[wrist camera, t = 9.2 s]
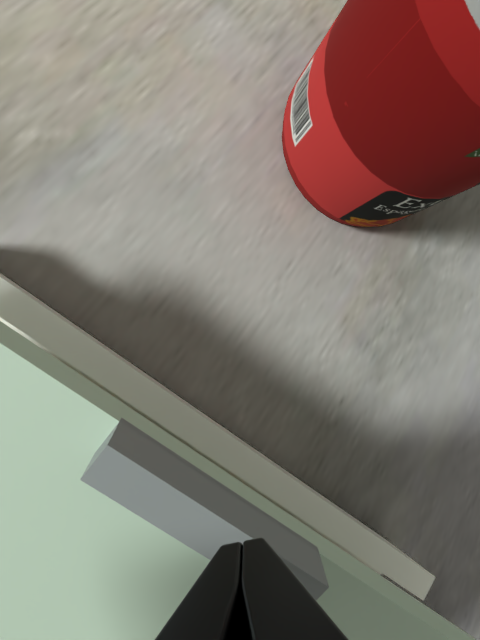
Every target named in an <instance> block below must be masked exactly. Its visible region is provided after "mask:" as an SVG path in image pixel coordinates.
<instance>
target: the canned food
mask: <svg viewBox="0 0 480 640" xmlns="http://www.w3.org/2000/svg"><path fill="white" fill-rule="evenodd" d="M282 143H283V152H284V157H285V160H286V163H287V167H288V170H289V172H290V174H291V176H292V178H293V180H294V182H295V184H296V186H297V187H298V189H299V190H300V192H301V193H302V194H303V196H304V197H305V198H306V199H307V200H308V201H309V202H310V203H311V204H312V205H313V206H314V207H315V208H316V209H317V210H319V211H320V212H321V213H323V214H324V215H326V216H327V217H329V218H331V219H333V220H335V221H338V222H340V223H343V224H347V225H352V226H363V227H372V226H383V225H387V224H391V223H394V222H396V221H398V220H401V219H403V218H405V217H407V216H410V215H412V214H414V213H416V212H418V211H421V210H423V209H425V208H427V207H430V206H432V205H434V204H436V203H438V202H441V201H443V200H445V199H447V198H450V197H452V196H454V195H456V194H458V193H461V192H463V191H465V190H467V189H470V188H472V187H474V186H476V185H478V184H480V0H348V1H347V3H346V4H345V6H344V7H343V9H342V10H341V12H340V14H339V15H338V17H337V18H336V20H335V22H334V23H333V25H332V26H331V28H330V29H329V31H328V33H327V34H326V36H325V37H324V39H323V41H322V42H321V44H320V45H319V47H318V49H317V50H316V52H315V53H314V55H313V56H312V58H311V60H310V61H309V63H308V64H307V66H306V68H305V69H304V71H303V72H302V74H301V76H300V77H299V79H298V80H297V82H296V84H295V86H294V87H293V89H292V91H291V93H290V95H289V98H288V102H287V105H286V109H285V113H284V120H283V131H282Z"/></svg>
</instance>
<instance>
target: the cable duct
mask: <svg viewBox="0 0 480 640" xmlns="http://www.w3.org/2000/svg"><path fill="white" fill-rule="evenodd" d="M0 321H1V322H3V323H4V324H6V325H7V326H8V327H10V328H11V329H13V330H14V331H16V332H17V333H19V334H20V335H22V336H23V337H25V338H26V339H28V340H29V341H31V342H32V343H34V344H35V345H37V346H38V347H40V348H41V349H43V350H44V351H46V352H47V353H49V354H50V355H52V356H53V357H55V358H56V359H58V360H59V361H61V362H62V363H64V364H65V365H67V366H68V367H70V368H71V369H73V370H74V371H76V372H77V373H79V374H80V375H82V376H83V377H85V378H86V379H88V380H89V381H91V382H92V383H94V384H95V385H97V386H98V387H100V388H101V389H103V390H104V391H106V392H107V393H109V394H110V395H112V396H113V397H115V398H116V399H118V400H119V401H121V402H122V403H124V404H125V405H127V406H128V407H130V408H131V409H133V410H134V411H136V412H137V413H139V414H140V415H142V416H143V417H145V418H146V419H148V420H149V421H151V422H152V423H154V424H155V425H156V426H158V427H159V428H161V429H162V430H164V431H165V432H167V433H168V434H170V435H171V436H173V437H174V438H176V439H177V440H179V441H180V442H182V443H183V444H185V445H186V446H188V447H189V448H191V449H192V450H194V451H195V452H197V453H198V454H200V455H201V456H203V457H204V458H206V459H207V460H209V461H210V462H212V463H213V464H215V465H216V466H218V467H219V468H221V469H222V470H224V471H225V472H227V473H228V474H230V475H231V476H233V477H234V478H236V479H237V480H239V481H240V482H242V483H243V484H245V485H246V486H248V487H249V488H251V489H252V490H254V491H255V492H257V493H258V494H260V495H261V496H263V497H264V498H266V499H267V500H269V501H270V502H272V503H273V504H275V505H276V506H278V507H279V508H281V509H282V510H284V511H285V512H287V513H288V514H290V515H291V516H293V517H294V518H296V519H297V520H299V521H300V522H302V523H303V524H304V525H306V526H307V527H309V528H310V529H312V530H313V531H315V532H316V533H318V534H319V535H321V536H322V537H324V538H325V539H327V540H328V541H330V542H331V543H333V544H334V545H336V546H337V547H339V548H340V549H342V550H343V551H345V552H346V553H348V554H349V555H351V556H352V557H354V558H355V559H357V560H358V561H360V562H361V563H363V564H364V565H366V566H367V567H369V568H370V569H372V570H373V571H375V572H376V573H378V574H379V575H382V573H383V574H384V575H386V576H387V577H389V578H390V579H391V580H393V581H394V582H396V583H397V584H399V585H400V586H402V587H403V588H405V589H406V590H408V591H409V592H411V593H412V594H414V595H415V596H417V597H418V598H420V599H421V600H423V601H424V599H425V597H426V595H427V593H428V591H429V589H430V587H431V586H432V584H433V582H434V580H435V578H436V577H435V576H434V575H432V574H431V573H430V572H428V571H427V570H426V569H424V568H423V567H422V566H420V565H419V564H418V563H416V562H415V561H414V560H413V559H411V558H410V557H409V556H407V555H406V554H405V553H403V552H402V551H401V550H399V549H398V548H397V547H395V546H394V545H393V544H391V543H390V542H389V541H387V540H386V539H384V538H383V537H382V536H380V535H379V534H377V533H376V532H374V531H373V530H371V529H370V528H369V527H367V526H366V525H364V524H363V523H361V522H360V521H358V520H357V519H356V518H354V517H353V516H351V515H350V514H348V513H347V512H345V511H344V510H343V509H341V508H340V507H338V506H337V505H335V504H334V503H332V502H331V501H330V500H328V499H327V498H325V497H324V496H322V495H321V494H319V493H318V492H317V491H315V490H314V489H312V488H311V487H309V486H308V485H306V484H305V483H304V482H302V481H301V480H299V479H298V478H296V477H295V476H293V475H292V474H290V473H289V472H288V471H286V470H285V469H283V468H282V467H280V466H279V465H277V464H276V463H275V462H273V461H272V460H270V459H269V458H267V457H266V456H264V455H263V454H262V453H260V452H259V451H257V450H256V449H254V448H253V447H251V446H250V445H249V444H247V443H246V442H244V441H243V440H241V439H240V438H238V437H237V436H236V435H234V434H233V433H231V432H230V431H228V430H227V429H225V428H224V427H223V426H221V425H220V424H218V423H217V422H215V421H214V420H212V419H211V418H210V417H208V416H207V415H205V414H204V413H202V412H201V411H199V410H198V409H197V408H195V407H194V406H192V405H191V404H189V403H188V402H186V401H185V400H184V399H182V398H181V397H179V396H178V395H176V394H175V393H173V392H172V391H171V390H169V389H168V388H166V387H165V386H163V385H162V384H160V383H159V382H158V381H156V380H155V379H153V378H152V377H150V376H149V375H147V374H146V373H145V372H143V371H142V370H140V369H139V368H137V367H136V366H134V365H133V364H131V363H130V362H129V361H127V360H126V359H124V358H123V357H121V356H120V355H118V354H117V353H116V352H114V351H113V350H111V349H110V348H108V347H107V346H105V345H104V344H103V343H101V342H100V341H98V340H97V339H95V338H94V337H92V336H91V335H90V334H88V333H87V332H85V331H84V330H82V329H81V328H79V327H78V326H77V325H75V324H74V323H72V322H71V321H69V320H68V319H66V318H65V317H64V316H62V315H61V314H59V313H58V312H56V311H55V310H53V309H52V308H51V307H49V306H48V305H46V304H45V303H43V302H42V301H40V300H39V299H38V298H36V297H35V296H33V295H32V294H30V293H29V292H27V291H26V290H25V289H23V288H22V287H20V286H19V285H17V284H16V283H14V282H13V281H12V280H10V279H9V278H7V277H6V276H4V275H3V274H1V273H0Z"/></svg>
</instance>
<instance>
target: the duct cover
mask: <svg viewBox="0 0 480 640" xmlns="http://www.w3.org/2000/svg"><path fill="white" fill-rule="evenodd" d="M256 538H264V539H265V540H266V541H267V543H268V544H269V545H270V546H271V547H272V549H273V550H274V551H275V552H276V553H277V555H278V556H279V557H280V558H281V559H282V561H283V562H284V563H285V564H286V565H287V567H288V568H289V569H290V570H291V571H292V573H293V574H294V575H295V576H296V577H297V579H298V580H299V581H300V582H301V583H302V585H303V586H304V587H305V588H306V589H307V591H308V592H309V593H310V594H311V595H312V597H313V598H314V599H315V600H316V601H317V603H318V604H319V605H320V606H321V607H322V609H323V610H324V611H325V612H326V613H327V615H328V616H329V617H330V618H331V619H332V621H333V622H334V623H335V624H336V625H337V627H338V628H339V629H340V630H341V631H342V632H343V634H344V635H345V636H346V637H347V638H348V640H476V639H475V638H473V637H472V636H470V635H469V634H467V633H466V632H464V631H463V630H461V629H460V628H458V627H457V626H455V625H454V624H452V623H451V622H450V621H448V620H447V619H445V618H444V617H442V616H441V615H439V614H438V613H436V612H435V611H433V610H432V609H430V608H429V607H427V606H426V605H424V604H423V603H421V602H420V601H418V600H417V599H415V598H414V597H412V596H411V595H409V594H408V593H406V592H405V591H403V590H402V589H400V588H399V587H397V586H396V585H394V584H393V583H391V582H390V581H388V580H387V579H385V578H384V577H382V576H381V575H379V574H378V573H376V572H375V571H373V570H372V569H370V568H369V567H367V566H366V565H364V564H363V563H361V562H360V561H358V560H357V559H355V558H354V557H352V556H351V555H349V554H348V553H346V552H345V551H343V550H342V549H340V548H339V547H337V546H336V545H334V544H333V543H331V542H330V541H328V540H327V539H325V538H324V537H322V536H321V535H319V534H318V533H316V532H315V531H313V530H312V529H310V528H309V527H307V526H306V525H304V524H303V523H302V522H300V521H299V520H297V519H296V518H294V517H293V516H291V515H290V514H288V513H287V512H285V511H284V510H282V509H281V508H279V507H278V506H276V505H275V504H273V503H272V502H270V501H269V500H267V499H266V498H264V497H263V496H261V495H260V494H258V493H257V492H255V491H254V490H252V489H251V488H249V487H248V486H246V485H245V484H243V483H242V482H240V481H239V480H237V479H236V478H234V477H233V476H231V475H230V474H228V473H227V472H225V471H224V470H222V469H221V468H219V467H218V466H216V465H215V464H213V463H212V462H210V461H209V460H207V459H206V458H204V457H203V456H201V455H200V454H198V453H197V452H195V451H194V450H192V449H191V448H189V447H188V446H186V445H185V444H183V443H182V442H180V441H179V440H177V439H176V438H174V437H173V436H171V435H170V434H168V433H167V432H165V431H164V430H162V429H161V428H159V427H158V426H156V425H155V424H154V423H152V422H151V421H149V420H148V419H146V418H145V417H143V416H142V415H140V414H139V413H137V412H136V411H134V410H133V409H131V408H130V407H128V406H127V405H125V404H124V403H122V402H121V401H119V400H118V399H116V398H115V397H113V396H112V395H110V394H109V393H107V392H106V391H104V390H103V389H101V388H100V387H98V386H97V385H95V384H94V383H92V382H91V381H89V380H88V379H86V378H85V377H83V376H82V375H80V374H79V373H77V372H76V371H74V370H73V369H71V368H70V367H68V366H67V365H65V364H64V363H62V362H61V361H59V360H58V359H56V358H55V357H53V356H52V355H50V354H49V353H47V352H46V351H44V350H43V349H41V348H40V347H38V346H37V345H35V344H34V343H32V342H31V341H29V340H28V339H26V338H25V337H23V336H22V335H20V334H19V333H17V332H16V331H14V330H13V329H11V328H10V327H8V326H7V325H6V324H4V323H3V322H1V321H0V640H155V638H156V637H157V635H158V634H159V633H160V631H161V630H162V628H163V627H164V626H165V624H166V623H167V621H168V620H169V618H170V617H171V616H172V614H173V613H174V611H175V610H176V609H177V607H178V606H179V604H180V603H181V601H182V600H183V599H184V597H185V596H186V594H187V593H188V592H189V590H190V589H191V587H192V586H193V584H194V583H195V582H196V580H197V579H198V577H199V576H200V575H201V573H202V572H203V570H204V569H205V568H206V566H207V565H208V563H209V562H210V560H211V559H212V558H213V556H214V555H215V553H216V552H217V551H218V549H219V548H220V547H221V546H222V545H225V544H230V543H235V542H240V543H242V545H243V542H244V541H246V540H250V539H256Z"/></svg>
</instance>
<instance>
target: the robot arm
mask: <svg viewBox="0 0 480 640" xmlns="http://www.w3.org/2000/svg"><path fill="white" fill-rule="evenodd" d="M155 640H348V638H347V637H346V636H345V635H344V634H343V632H342V631H341V630H340V629H339V628H338V627H337V625H336V624H335V623H334V622H333V621H332V619H331V618H330V617H329V616H328V615H327V613H326V612H325V611H324V610H323V609H322V607H321V606H320V605H319V604H318V603H317V601H316V600H315V599H314V598H313V597H312V595H311V594H310V593H309V592H308V591H307V589H306V588H305V587H304V586H303V585H302V583H301V582H300V581H299V580H298V579H297V577H296V576H295V575H294V574H293V573H292V571H291V570H290V569H289V568H288V567H287V565H286V564H285V563H284V562H283V561H282V559H281V558H280V557H279V556H278V555H277V553H276V552H275V551H274V550H273V549H272V547H271V546H270V545H269V544H268V543H267V541H266V540H265V539H264V538H256V539H250V540H246V541H244V542H243V545H242V543H240V542H235V543H230V544H225V545H222V546H221V547H220V548H219V549H218V551H217V552H216V553H215V555H214V556H213V558H212V559H211V560H210V562H209V563H208V565H207V566H206V568H205V569H204V570H203V572H202V573H201V575H200V576H199V577H198V579H197V580H196V582H195V583H194V584H193V586H192V587H191V589H190V590H189V592H188V593H187V594H186V596H185V597H184V599H183V600H182V601H181V603H180V604H179V606H178V607H177V609H176V610H175V611H174V613H173V614H172V616H171V617H170V618H169V620H168V621H167V623H166V624H165V626H164V627H163V628H162V630H161V631H160V633H159V634H158V635H157V637H156V638H155Z"/></svg>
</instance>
